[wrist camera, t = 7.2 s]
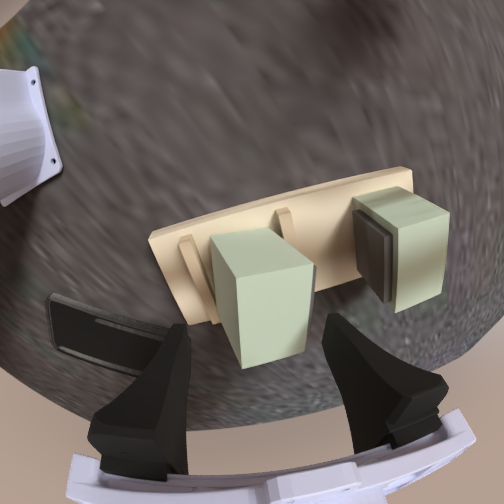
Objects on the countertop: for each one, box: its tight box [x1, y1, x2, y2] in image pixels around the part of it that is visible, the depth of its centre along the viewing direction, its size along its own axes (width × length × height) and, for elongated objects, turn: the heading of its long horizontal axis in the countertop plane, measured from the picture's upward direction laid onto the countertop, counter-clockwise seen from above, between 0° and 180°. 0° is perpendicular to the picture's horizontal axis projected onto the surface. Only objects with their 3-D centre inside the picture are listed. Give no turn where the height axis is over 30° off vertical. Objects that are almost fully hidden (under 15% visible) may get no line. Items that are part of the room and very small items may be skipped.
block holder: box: [148, 166, 450, 325], centre depth 18 cm, size 8×20×8 cm, turn 104°
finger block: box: [210, 227, 317, 369], centre depth 17 cm, size 5×6×6 cm
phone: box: [45, 293, 191, 378], centre depth 24 cm, size 8×1×15 cm
